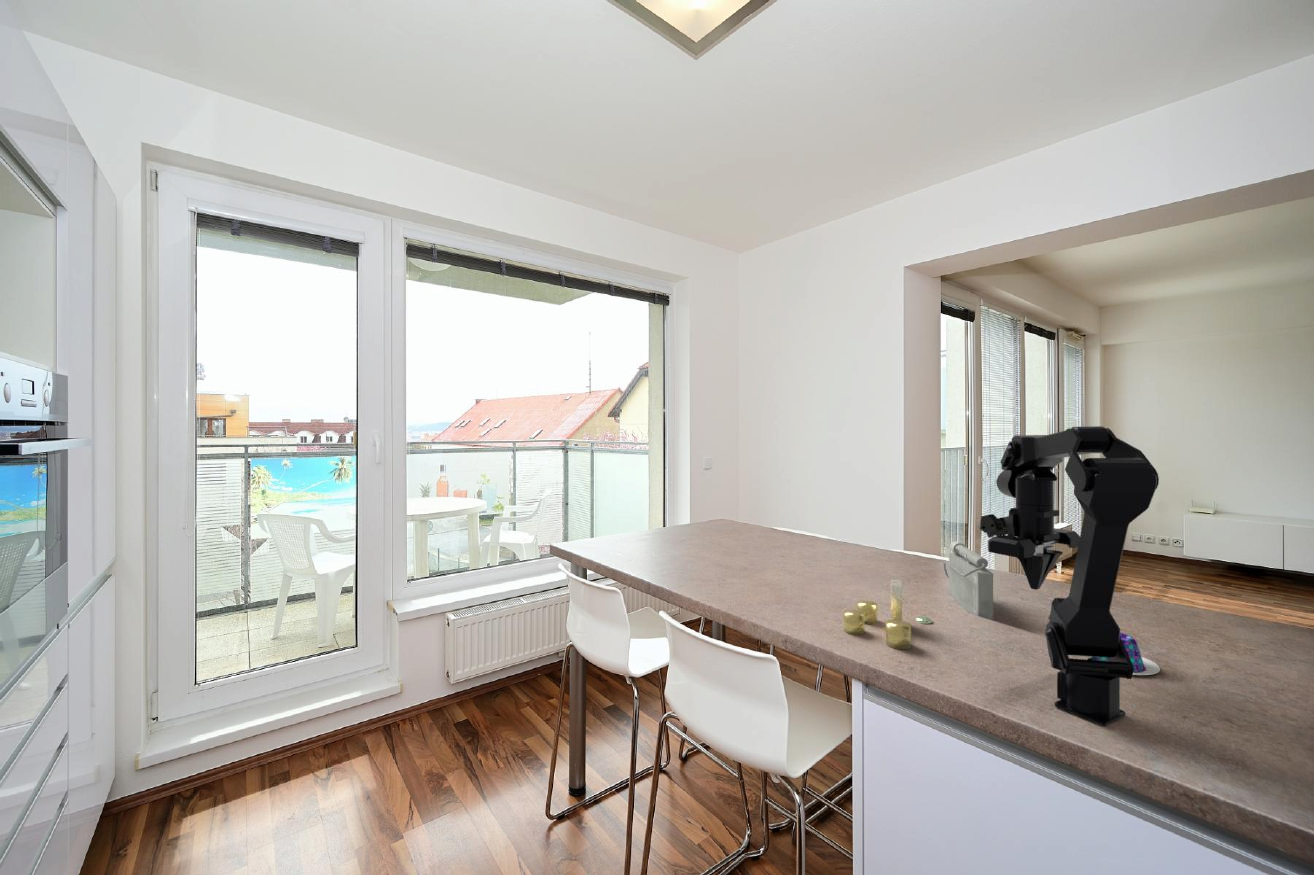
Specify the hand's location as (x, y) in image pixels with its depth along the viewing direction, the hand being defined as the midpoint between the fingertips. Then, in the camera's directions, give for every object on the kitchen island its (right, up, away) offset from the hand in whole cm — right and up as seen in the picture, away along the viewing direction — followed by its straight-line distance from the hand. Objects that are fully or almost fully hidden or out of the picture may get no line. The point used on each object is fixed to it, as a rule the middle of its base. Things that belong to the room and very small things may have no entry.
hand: (1034, 589), depth 98 cm
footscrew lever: (-21, -12, +9) cm, 26 cm away
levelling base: (-19, -13, +10) cm, 25 cm away
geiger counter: (+5, -13, +31) cm, 34 cm away
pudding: (+13, -13, -1) cm, 19 cm away
